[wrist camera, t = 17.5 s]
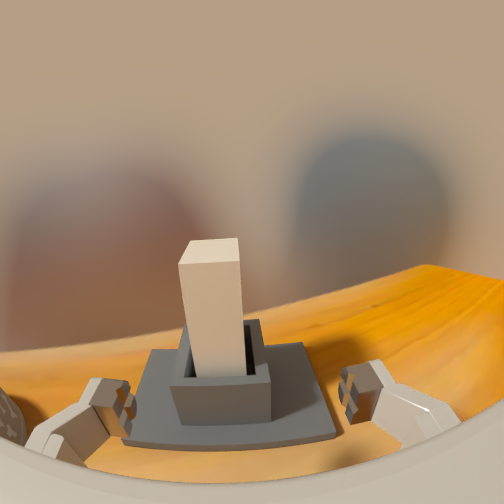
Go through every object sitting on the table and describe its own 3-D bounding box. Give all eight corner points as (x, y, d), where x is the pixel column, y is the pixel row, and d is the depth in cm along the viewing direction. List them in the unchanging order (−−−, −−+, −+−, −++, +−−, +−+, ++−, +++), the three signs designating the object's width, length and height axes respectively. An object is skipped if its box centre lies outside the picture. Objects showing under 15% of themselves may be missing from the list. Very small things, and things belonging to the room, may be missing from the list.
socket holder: (301, 348, 33) (304, 305, 31) (334, 438, 20) (346, 391, 18) (153, 355, 32) (143, 313, 30) (124, 445, 19) (99, 400, 17)
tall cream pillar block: (245, 368, 28) (237, 237, 24) (249, 409, 23) (239, 260, 19) (207, 370, 28) (190, 240, 24) (204, 411, 22) (178, 264, 18)
